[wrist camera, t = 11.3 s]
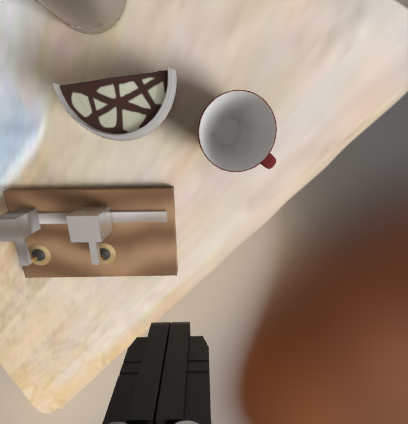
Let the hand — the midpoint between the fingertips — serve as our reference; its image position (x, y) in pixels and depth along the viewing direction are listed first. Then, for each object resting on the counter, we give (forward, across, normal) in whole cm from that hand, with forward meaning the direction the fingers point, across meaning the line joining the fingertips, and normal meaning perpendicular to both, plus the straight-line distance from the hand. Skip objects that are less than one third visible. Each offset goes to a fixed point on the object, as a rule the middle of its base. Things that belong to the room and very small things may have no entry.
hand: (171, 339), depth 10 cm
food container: (+29, +7, -10) cm, 32 cm away
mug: (+29, -6, -7) cm, 31 cm away
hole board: (+29, +15, +7) cm, 33 cm away
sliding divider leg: (+27, +14, +6) cm, 31 cm away
